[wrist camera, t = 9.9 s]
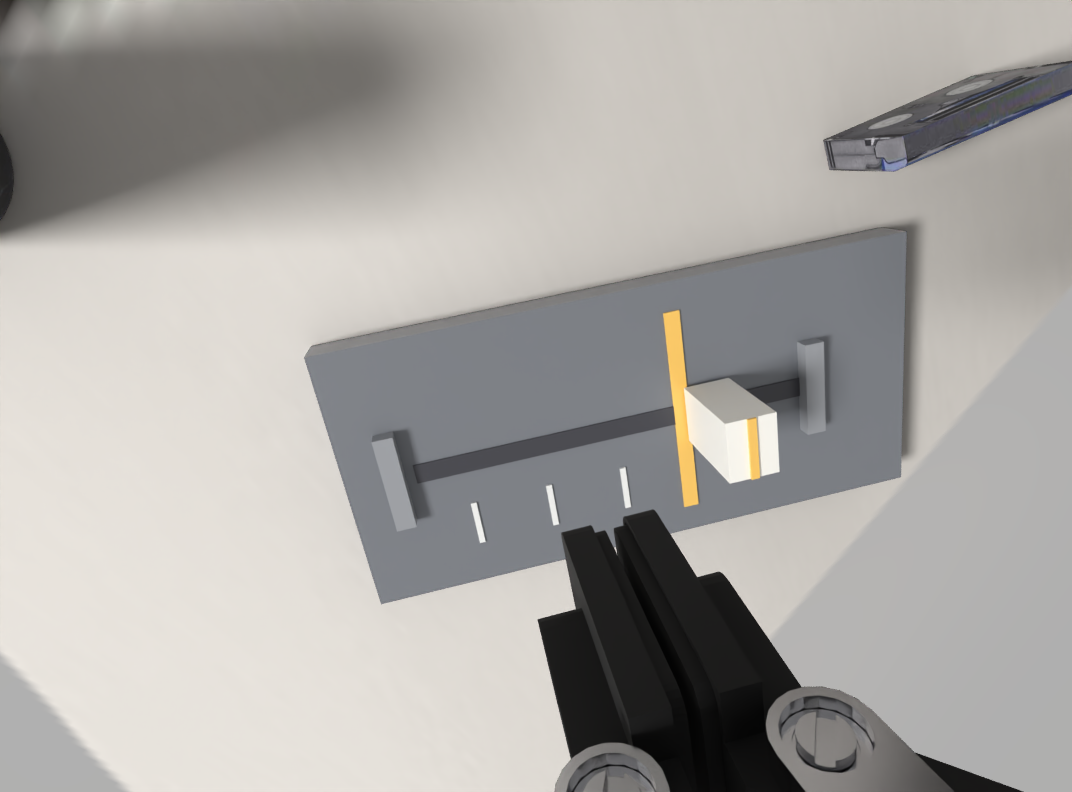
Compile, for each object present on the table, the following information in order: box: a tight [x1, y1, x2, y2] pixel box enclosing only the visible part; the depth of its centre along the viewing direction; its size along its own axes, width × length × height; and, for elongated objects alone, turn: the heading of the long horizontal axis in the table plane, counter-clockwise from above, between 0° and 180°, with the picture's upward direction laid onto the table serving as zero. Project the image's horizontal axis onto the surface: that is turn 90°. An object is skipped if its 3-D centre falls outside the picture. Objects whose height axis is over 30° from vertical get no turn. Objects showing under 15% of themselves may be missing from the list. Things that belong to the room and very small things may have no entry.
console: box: [304, 228, 907, 604], centre depth 35 cm, size 14×30×3 cm, turn 100°
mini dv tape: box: [823, 61, 1072, 171], centre depth 31 cm, size 8×2×6 cm, turn 112°
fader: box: [684, 378, 780, 484], centre depth 32 cm, size 3×2×5 cm
